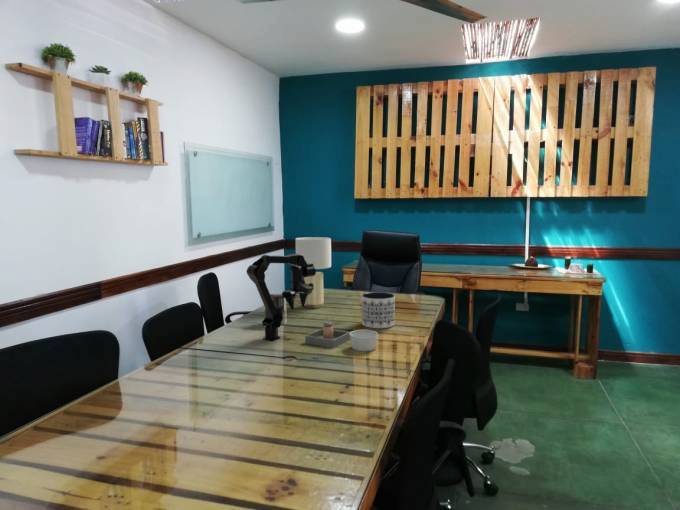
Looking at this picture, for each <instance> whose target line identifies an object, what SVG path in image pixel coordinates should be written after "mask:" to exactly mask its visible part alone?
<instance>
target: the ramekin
mask: <svg viewBox="0 0 680 510" xmlns="http://www.w3.org/2000/svg"><path fill="white" fill-rule="evenodd" d="M349 332H350V346H351V348H352V350H354V351H358V352H370V351H373V350H375V349H376V348H377V344H378V336H379V334H378V332H377V331H374V330H373V329H372V330H370V329H357V330H356V329H355V330H353V331H349Z"/></svg>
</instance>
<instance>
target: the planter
mask: <svg viewBox="0 0 680 510" xmlns="http://www.w3.org/2000/svg"><path fill="white" fill-rule="evenodd" d="M395 299H396V295H395V294H393V293H389V292H381V291H378V292H377V291H376V292H375V291H373V292H366V293H363V294H361V325H362V326H364V327H366V328H370V329H389V328H391V327H393V326H395V324H396V323H395V322H396V315H395V314H396V306H395V304H396V300H395Z"/></svg>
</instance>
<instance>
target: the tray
mask: <svg viewBox="0 0 680 510" xmlns="http://www.w3.org/2000/svg"><path fill="white" fill-rule="evenodd" d="M350 332H351V331H345V330H339V329H333V340H331V339H325V338H323V327H322V328H320V329H318V330H316V331H313V332H311V333H308V334H306V335H305V340H304V341H305V343H304V344H308V345H313V346H314V345H315V346H321V347H325V348H331V349H332V348H333V349H335V348H337V347H338V346H341V345H343V344H344V343H346V342H348V341H349V340H350Z"/></svg>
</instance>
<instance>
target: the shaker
mask: <svg viewBox="0 0 680 510" xmlns="http://www.w3.org/2000/svg"><path fill="white" fill-rule="evenodd" d="M333 324H334V323H333V322H332V321H324V322H323V325H322V328H323V338H325V339H331V340H333V330H334V325H333Z"/></svg>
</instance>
